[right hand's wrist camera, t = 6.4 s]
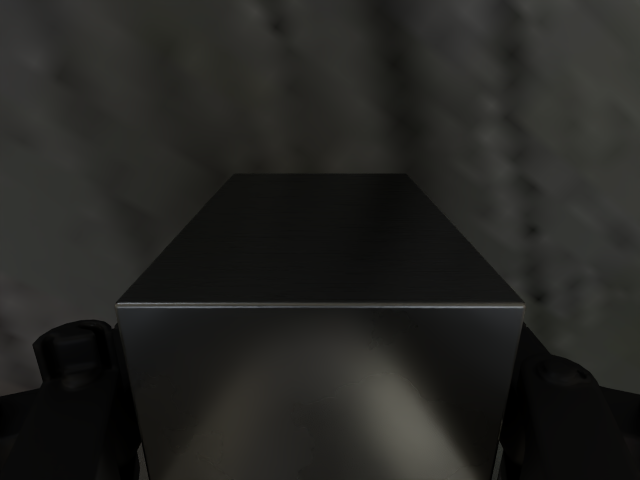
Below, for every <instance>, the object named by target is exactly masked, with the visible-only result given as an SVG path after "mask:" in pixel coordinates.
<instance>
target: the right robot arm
mask: <svg viewBox="0 0 640 480" xmlns="http://www.w3.org/2000/svg"><path fill="white" fill-rule="evenodd" d="M33 349H34V352H35V356H36V359H37V363H38V366H39V369H40V373H41V376H42V380H43V383H42V385H41V387H40V388H38V389H34V390H30V391H25V392H20V393H15V394H10V395H5V396H0V480H139V472H140V465H139V459H138V454H137V450H138V448H139V445H140V443H141V437H140V432H139V427H138V422H137V417H136V412H135V407H134V402H133V397H132V392H131V387H130V382H129V377H128V371H127V366H126V361H125V356H124V351H123V346H122V341H121V336H120V331H119V326H118V323H117V324H116V325H115V328H114V329H112V328H111V326H110V325H109V324H107V323H106V322H104V321H99V320H80V321H76V322H71V323H67V324H64V325H61V326H59V327H56V328H54V329H51V330H50V331H48V332H46V333H45V334H43V335H42V336H40V337H39V338H38V339H37V340H36V341H35V342H34V343H33ZM499 441H500V443H501V445H502V447H503V454H502V459H501V464H500V468H499V473H498V478H497V480H640V395H639V394H634V393H629V392H624V391H620V390H615V389H610V388H605V387H602V386H599V384H598V382H597V381H596V379H595V378H594V377H593V375H592V374H591V373H590V372H589V371H588V370H586V369H585V368H583V367H582V366H581V365H579V364H577V363H575V362H573V361H571V360H568V359H566V358H563V357H559V356H555V355H551V354H550V353H549V352H548V350H547V349H546V348H545V347H544V346H543V344H542V343H541V342H540V341H539V340H538V338H537V337H536V336H535V335H534V334H533V333H532V331H531V330H530V329H529V328H528V327H526V324H525V323H524V322H523V324H522V329H521V334H520V339H519V344H518V349H517V354H516V359H515V364H514V369H513V374H512V379H511V384H510V389H509V394H508V399H507V404H506V409H505V414H504V419H503V424H502V429H501V434H500V439H499Z"/></svg>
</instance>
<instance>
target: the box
mask: <svg viewBox="0 0 640 480" xmlns="http://www.w3.org/2000/svg"><path fill="white" fill-rule="evenodd" d="M525 309H526V305H525V302H524V301H523V300H522V299H521V298H520V297H519V296H518V295H517V294H516V292H515V291H514V290H513V289H512V288H511V287H510V286H509V285H508V284H507V283H506V282H505V280H504V279H503V278H502V277H501V276H500V275H499V274H498V273H497V272H496V271H495V270H494V268H493V267H492V266H491V265H490V264H489V263H488V262H487V261H486V260H485V259H484V258H483V257H482V255H481V254H480V253H479V252H478V251H477V250H476V249H475V248H474V247H473V246H472V245H471V243H470V242H469V241H468V240H467V239H466V238H465V237H464V236H463V235H462V234H461V233H460V231H459V230H458V229H457V228H456V227H455V226H454V225H453V224H452V223H451V222H450V221H449V219H448V218H447V217H446V216H445V215H444V214H443V213H442V212H441V211H440V210H439V209H438V207H437V206H436V205H435V204H434V203H433V202H432V201H431V200H430V199H429V198H428V197H427V196H426V194H425V193H424V192H423V191H422V190H421V189H420V188H419V187H418V186H417V185H416V184H415V182H414V181H413V180H412V179H411V178H410V177H409V176H408V175H407V174H233V175H232V176H231V177H230V178H229V179H228V181H227V182H226V183H225V184H224V185H223V186H222V187H221V188H220V189H219V190H218V191H217V193H216V194H215V195H214V196H213V197H212V198H211V199H210V200H209V201H208V202H207V203H206V205H205V206H204V207H203V208H202V209H201V210H200V211H199V212H198V213H197V214H196V215H195V217H194V218H193V219H192V220H191V221H190V222H189V223H188V224H187V225H186V226H185V227H184V229H183V230H182V231H181V232H180V233H179V234H178V235H177V236H176V237H175V238H174V239H173V241H172V242H171V243H170V244H169V245H168V246H167V247H166V248H165V249H164V250H163V252H162V253H161V254H160V255H159V256H158V257H157V258H156V259H155V260H154V261H153V262H152V264H151V265H150V266H149V267H148V268H147V269H146V270H145V271H144V272H143V273H142V274H141V276H140V277H139V278H138V279H137V280H136V281H135V282H134V283H133V284H132V285H131V286H130V288H129V289H128V290H127V291H126V292H125V293H124V294H123V295H122V296H121V297H120V298H119V300H118V301H117V302H116V304H115V311H116V316H117V321H118V326H119V331H120V336H121V341H122V346H123V351H124V356H125V361H126V366H127V371H128V377H129V382H130V387H131V392H132V397H133V402H134V407H135V412H136V417H137V422H138V427H139V432H140V437H141V442H142V447H143V452H144V457H145V462H146V467H147V472H148V477H149V480H491V479H492V474H493V469H494V464H495V459H496V454H497V449H498V444H499V439H500V434H501V429H502V424H503V419H504V414H505V409H506V404H507V399H508V394H509V389H510V384H511V379H512V374H513V369H514V364H515V359H516V354H517V349H518V344H519V339H520V334H521V329H522V324H523V319H524V314H525Z"/></svg>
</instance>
